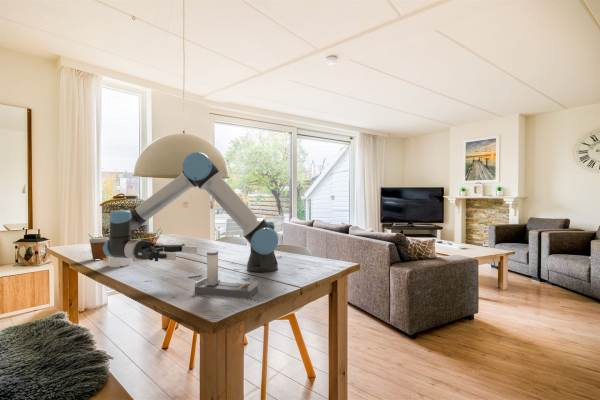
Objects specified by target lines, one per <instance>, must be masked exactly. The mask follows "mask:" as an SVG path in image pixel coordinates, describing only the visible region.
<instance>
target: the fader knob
mask: <svg viewBox="0 0 600 400" xmlns="http://www.w3.org/2000/svg"><path fill="white" fill-rule="evenodd" d="M206 274H207V275H206V277H207V282H205V285H212V286H214V285H215V284H217V283H219V282H221V279H219V251H216V250H215V251H213V250H212V251H207V252H206Z"/></svg>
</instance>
